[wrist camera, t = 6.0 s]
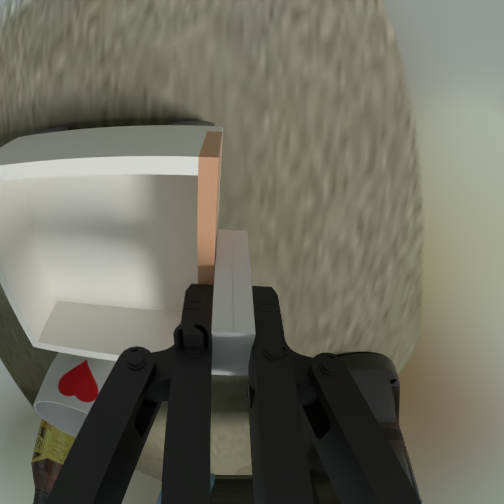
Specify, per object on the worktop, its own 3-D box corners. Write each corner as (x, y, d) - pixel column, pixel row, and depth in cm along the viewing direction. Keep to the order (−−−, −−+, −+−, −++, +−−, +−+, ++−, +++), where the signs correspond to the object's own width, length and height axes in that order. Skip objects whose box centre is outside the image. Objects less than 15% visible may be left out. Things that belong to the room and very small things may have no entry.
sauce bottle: (47, 388, 34) (18, 507, 18) (86, 403, 36) (64, 525, 20) (50, 404, 38) (26, 509, 21) (84, 417, 39) (66, 525, 23)
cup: (158, 342, 28) (143, 438, 20) (115, 368, 31) (98, 448, 22) (89, 293, 24) (50, 391, 16) (55, 329, 27) (24, 410, 19)
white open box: (224, 118, 17) (218, 157, 10) (216, 285, 24) (213, 369, 17) (38, 126, 15) (-36, 170, 9) (69, 275, 22) (33, 346, 16)
